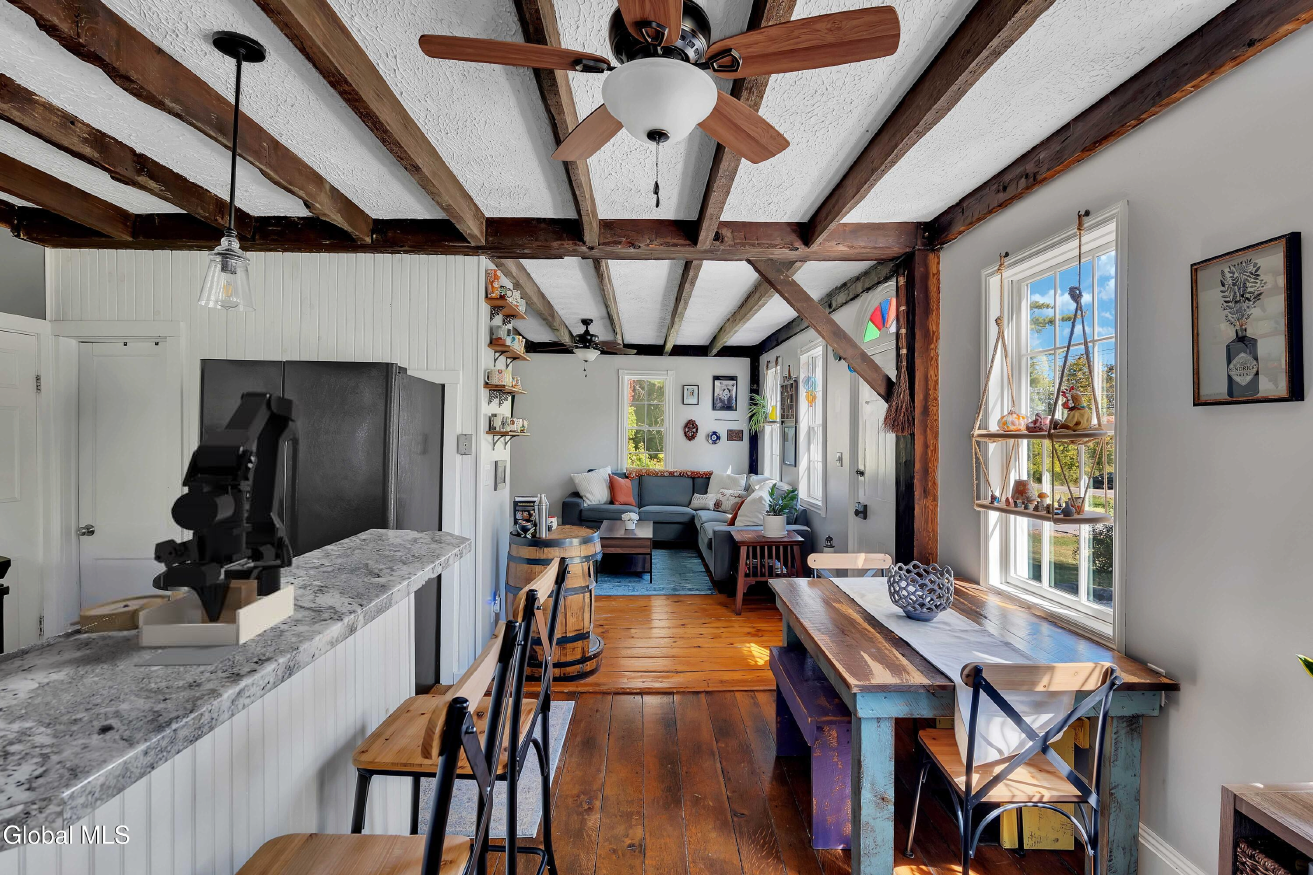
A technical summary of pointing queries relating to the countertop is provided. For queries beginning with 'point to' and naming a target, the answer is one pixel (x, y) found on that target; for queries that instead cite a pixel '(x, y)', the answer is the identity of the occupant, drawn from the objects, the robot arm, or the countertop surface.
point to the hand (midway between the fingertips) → (223, 617)
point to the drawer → (173, 629)
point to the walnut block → (236, 599)
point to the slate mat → (190, 655)
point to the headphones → (120, 612)
